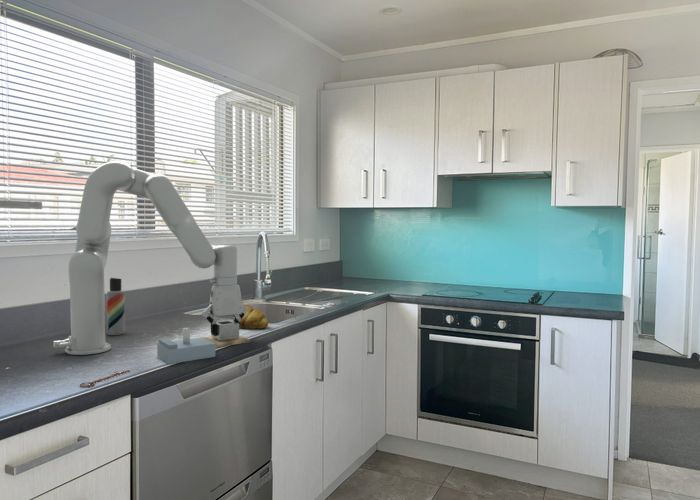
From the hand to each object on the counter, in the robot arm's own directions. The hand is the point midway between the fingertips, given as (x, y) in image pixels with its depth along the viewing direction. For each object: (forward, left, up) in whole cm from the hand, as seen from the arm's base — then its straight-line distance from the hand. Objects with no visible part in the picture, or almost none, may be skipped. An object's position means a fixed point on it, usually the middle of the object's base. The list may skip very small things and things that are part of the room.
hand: (225, 333), depth 179 cm
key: (-43, -21, -3) cm, 48 cm away
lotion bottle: (-27, +32, -3) cm, 42 cm away
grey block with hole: (0, 0, -1) cm, 1 cm away
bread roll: (+18, +15, -3) cm, 24 cm away
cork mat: (0, 0, -3) cm, 3 cm away
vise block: (-18, -12, -3) cm, 22 cm away
